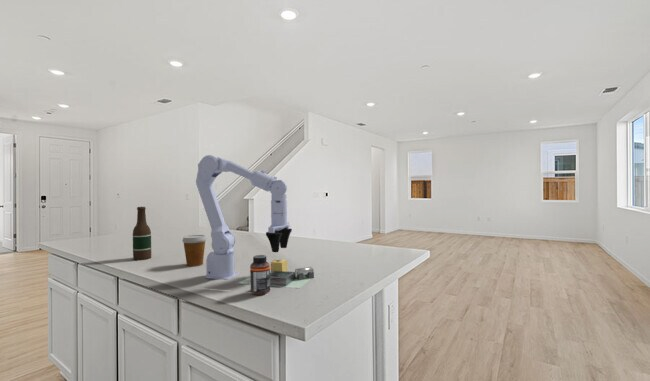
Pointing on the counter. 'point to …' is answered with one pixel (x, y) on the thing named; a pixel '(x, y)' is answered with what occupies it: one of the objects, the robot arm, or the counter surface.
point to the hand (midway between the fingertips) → (279, 249)
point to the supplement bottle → (260, 275)
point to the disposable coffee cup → (194, 249)
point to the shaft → (304, 273)
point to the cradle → (282, 278)
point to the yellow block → (279, 265)
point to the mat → (293, 284)
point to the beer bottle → (141, 237)
